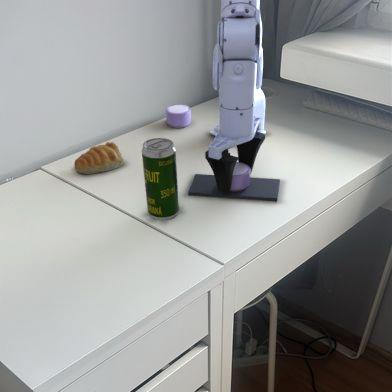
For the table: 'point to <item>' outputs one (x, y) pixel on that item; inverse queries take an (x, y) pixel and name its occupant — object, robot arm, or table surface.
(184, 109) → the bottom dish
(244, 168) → the top dish
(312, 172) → the table surface
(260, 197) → the felt mat
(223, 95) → the robot arm
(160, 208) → the green metal cylinder
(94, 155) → the pastry
